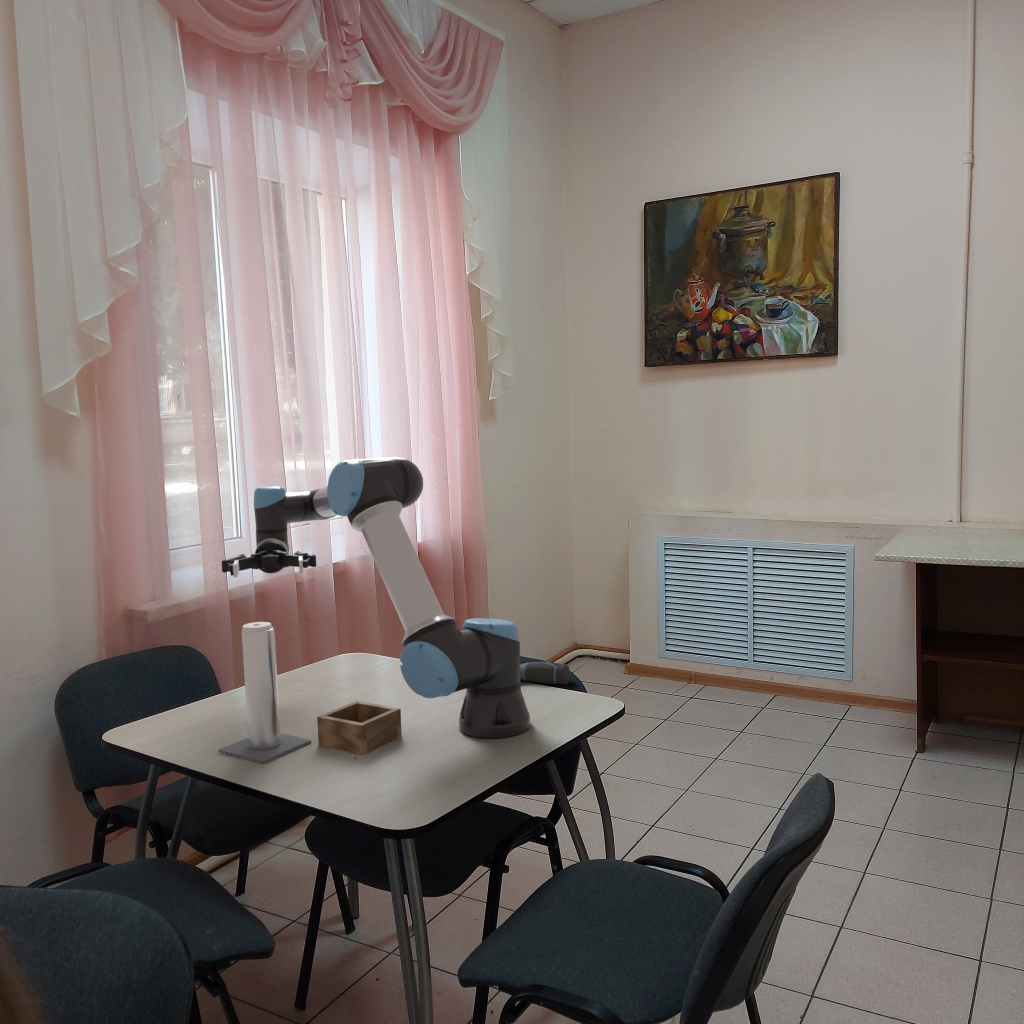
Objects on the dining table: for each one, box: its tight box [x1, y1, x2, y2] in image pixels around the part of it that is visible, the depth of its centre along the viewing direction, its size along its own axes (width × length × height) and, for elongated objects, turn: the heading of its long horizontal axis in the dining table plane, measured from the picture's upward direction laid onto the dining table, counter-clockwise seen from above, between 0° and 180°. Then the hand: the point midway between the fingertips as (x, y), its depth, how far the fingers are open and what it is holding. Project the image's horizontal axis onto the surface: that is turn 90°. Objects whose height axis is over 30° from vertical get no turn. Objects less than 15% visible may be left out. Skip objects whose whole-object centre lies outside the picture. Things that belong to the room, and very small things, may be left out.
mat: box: [217, 732, 312, 764], centre depth 187 cm, size 13×13×1 cm
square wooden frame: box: [316, 700, 403, 756], centre depth 189 cm, size 12×12×6 cm
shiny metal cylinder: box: [241, 621, 281, 750], centre depth 186 cm, size 6×6×25 cm
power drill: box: [520, 661, 571, 685], centre depth 226 cm, size 5×19×20 cm
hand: (268, 568), depth 195 cm, fingers open, 13 cm apart
